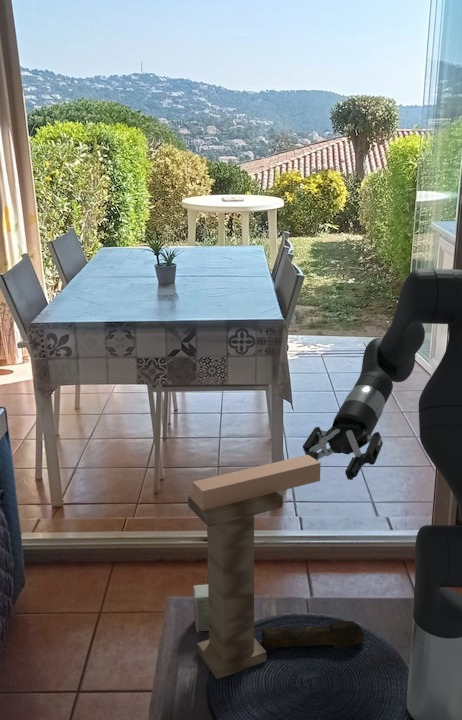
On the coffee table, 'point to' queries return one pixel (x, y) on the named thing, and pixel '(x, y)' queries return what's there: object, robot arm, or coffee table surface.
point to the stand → (232, 584)
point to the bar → (255, 482)
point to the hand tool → (313, 635)
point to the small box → (201, 607)
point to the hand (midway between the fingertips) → (327, 473)
